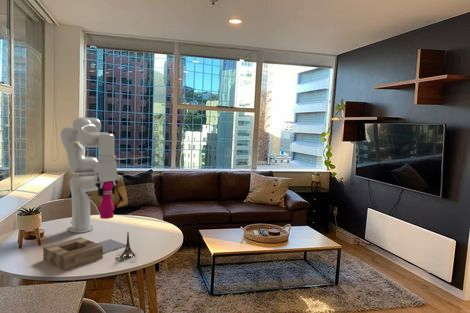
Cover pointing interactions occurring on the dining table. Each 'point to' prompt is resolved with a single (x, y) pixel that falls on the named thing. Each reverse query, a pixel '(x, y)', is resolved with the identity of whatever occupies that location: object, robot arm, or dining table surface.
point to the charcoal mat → (111, 245)
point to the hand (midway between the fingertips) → (106, 194)
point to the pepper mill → (106, 201)
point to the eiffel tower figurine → (126, 252)
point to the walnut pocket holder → (72, 253)
